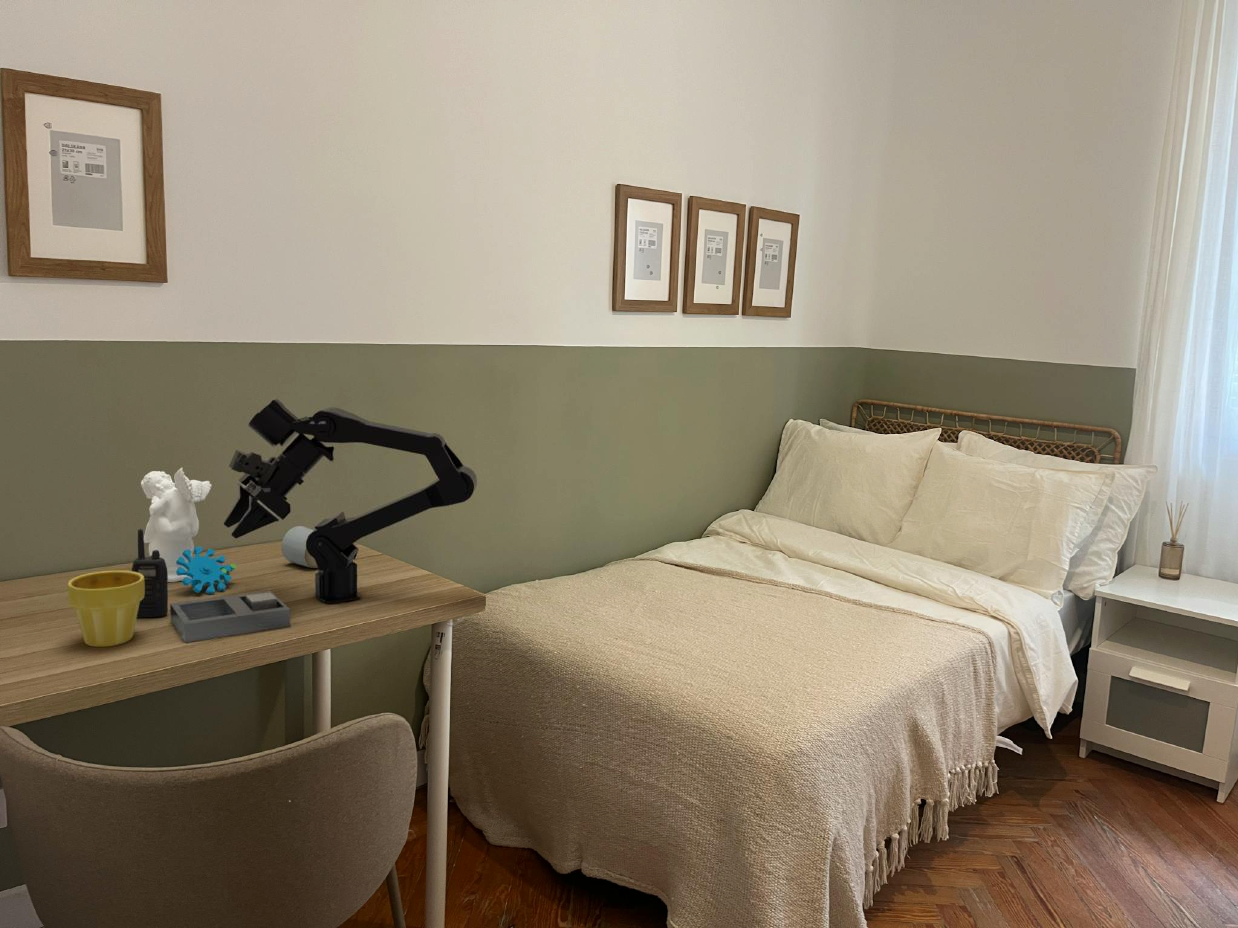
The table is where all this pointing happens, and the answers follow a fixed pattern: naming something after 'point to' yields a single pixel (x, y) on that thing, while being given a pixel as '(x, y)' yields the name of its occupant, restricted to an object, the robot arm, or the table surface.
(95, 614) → the plant pot
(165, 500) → the cherub figurine
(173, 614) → the grey charging dock
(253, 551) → the table surface
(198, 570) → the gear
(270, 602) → the steel block
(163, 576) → the two-way radio
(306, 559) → the ceramic mug
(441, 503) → the robot arm
